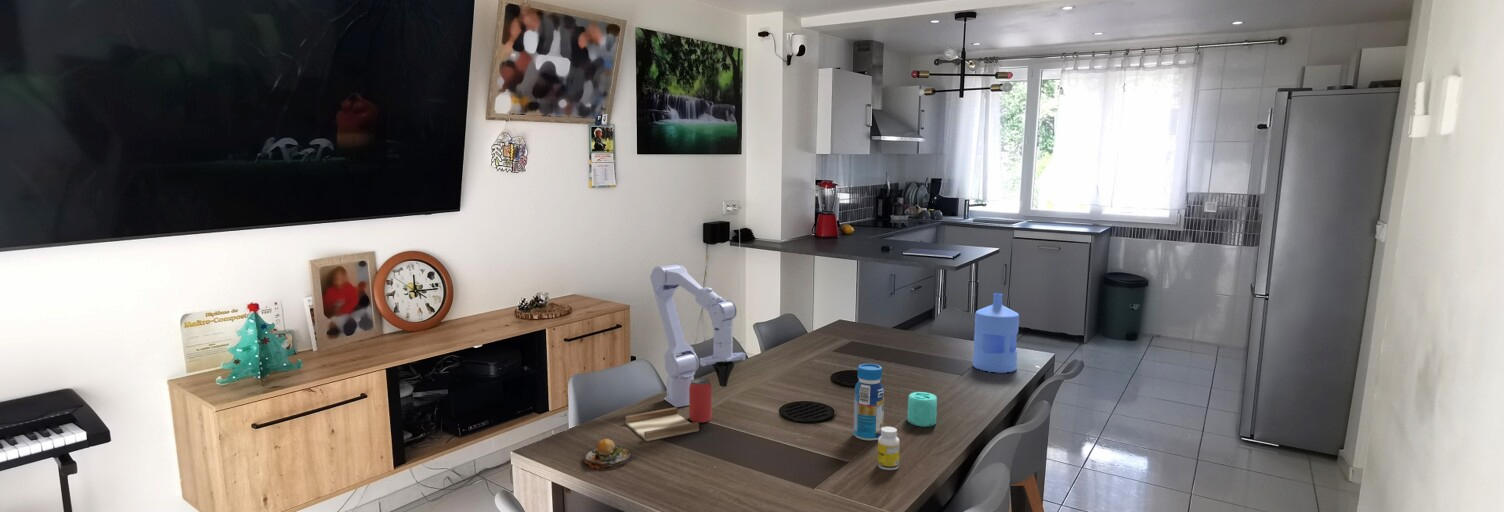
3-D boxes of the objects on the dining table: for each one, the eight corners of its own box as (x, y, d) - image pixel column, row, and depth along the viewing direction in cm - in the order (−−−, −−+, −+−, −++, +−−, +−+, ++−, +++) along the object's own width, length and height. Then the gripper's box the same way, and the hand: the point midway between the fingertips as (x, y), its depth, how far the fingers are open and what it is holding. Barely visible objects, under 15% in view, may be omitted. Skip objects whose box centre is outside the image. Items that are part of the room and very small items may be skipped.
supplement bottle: (874, 462, 192) (875, 425, 191) (895, 461, 193) (896, 425, 191) (880, 471, 187) (881, 433, 186) (901, 470, 187) (902, 432, 186)
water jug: (964, 364, 285) (967, 291, 281) (999, 360, 289) (1003, 289, 286) (988, 375, 270) (992, 298, 266) (1025, 371, 274) (1029, 296, 271)
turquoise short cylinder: (936, 419, 225) (937, 393, 224) (935, 428, 217) (936, 401, 216) (909, 416, 227) (909, 390, 226) (907, 425, 219) (907, 398, 218)
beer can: (708, 424, 219) (708, 384, 217) (686, 422, 220) (686, 383, 219) (714, 416, 225) (714, 378, 224) (692, 415, 227) (692, 376, 225)
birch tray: (625, 423, 219) (625, 416, 219) (675, 414, 228) (675, 407, 227) (646, 441, 206) (646, 433, 206) (698, 430, 214) (698, 423, 214)
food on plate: (640, 458, 195) (640, 430, 194) (610, 474, 185) (609, 445, 184) (605, 448, 201) (605, 422, 200) (574, 463, 191) (573, 435, 190)
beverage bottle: (847, 432, 213) (849, 364, 210) (873, 429, 216) (875, 361, 213) (862, 443, 205) (863, 372, 202) (889, 439, 208) (891, 369, 205)
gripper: (707, 347, 217) (707, 393, 218) (750, 341, 224) (750, 385, 226) (696, 342, 223) (696, 386, 224) (739, 336, 230) (739, 379, 232)
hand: (723, 385), depth 225 cm, fingers closed
